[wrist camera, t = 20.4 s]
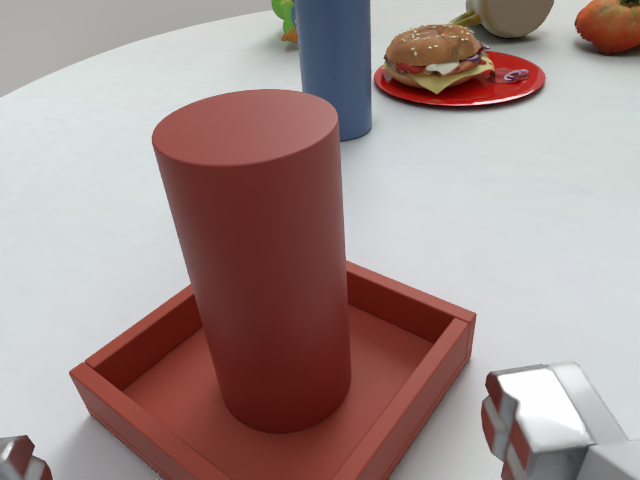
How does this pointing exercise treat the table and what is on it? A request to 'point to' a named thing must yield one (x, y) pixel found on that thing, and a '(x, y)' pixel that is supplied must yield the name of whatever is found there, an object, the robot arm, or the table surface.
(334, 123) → the red canister
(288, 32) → the toy
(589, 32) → the tomato
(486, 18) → the mug
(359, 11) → the blue canister
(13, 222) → the table surface
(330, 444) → the red tray
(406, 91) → the hamburger
